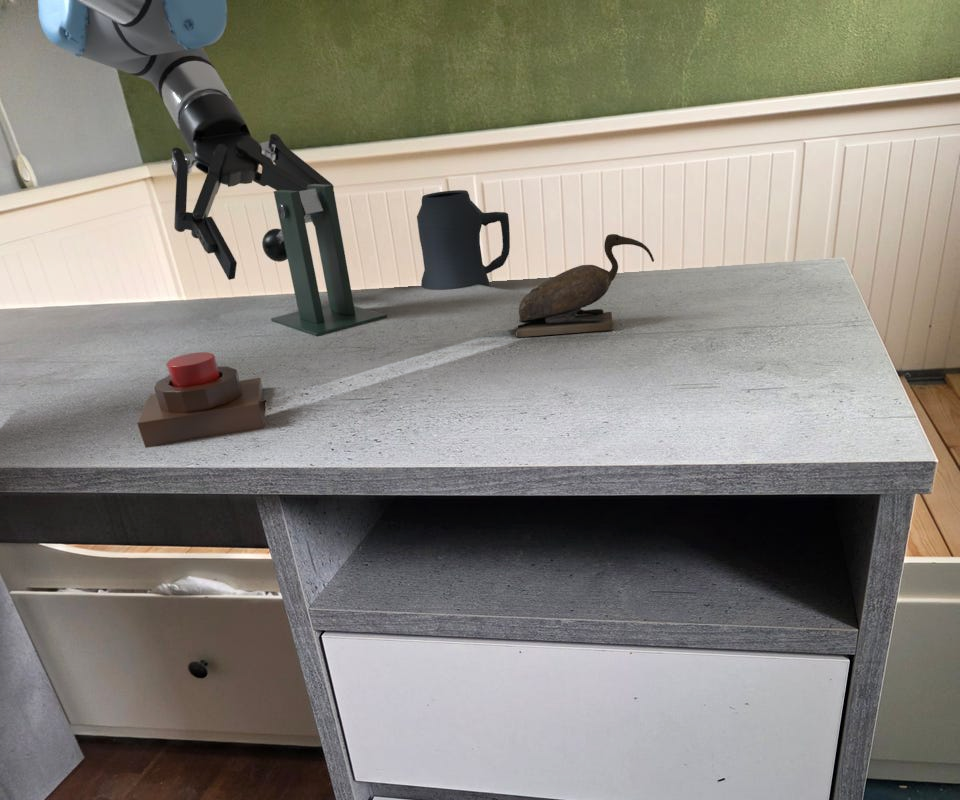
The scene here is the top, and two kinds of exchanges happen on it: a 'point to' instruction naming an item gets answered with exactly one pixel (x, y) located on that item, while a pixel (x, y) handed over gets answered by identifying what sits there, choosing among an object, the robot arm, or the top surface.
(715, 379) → the top surface
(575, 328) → the figurine
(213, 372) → the button
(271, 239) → the lever
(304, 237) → the bracket
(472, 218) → the mug
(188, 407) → the button block
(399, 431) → the top surface
